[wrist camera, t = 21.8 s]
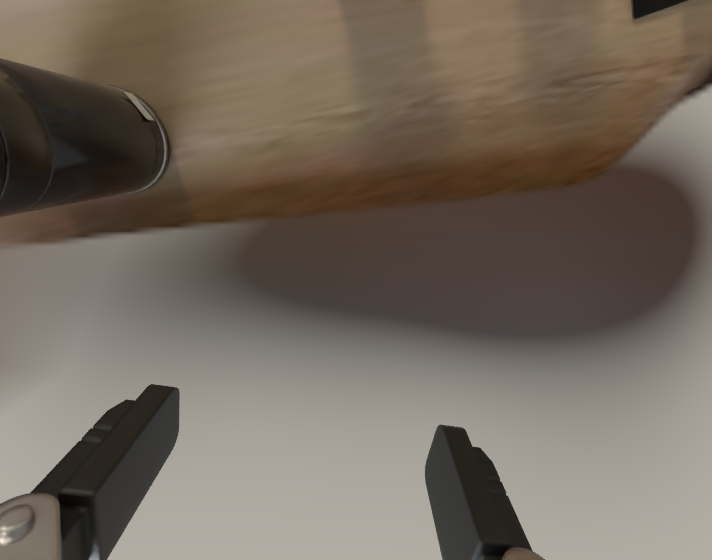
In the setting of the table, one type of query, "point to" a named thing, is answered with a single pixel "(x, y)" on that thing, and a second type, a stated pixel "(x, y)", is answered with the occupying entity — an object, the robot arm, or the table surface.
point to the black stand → (651, 6)
